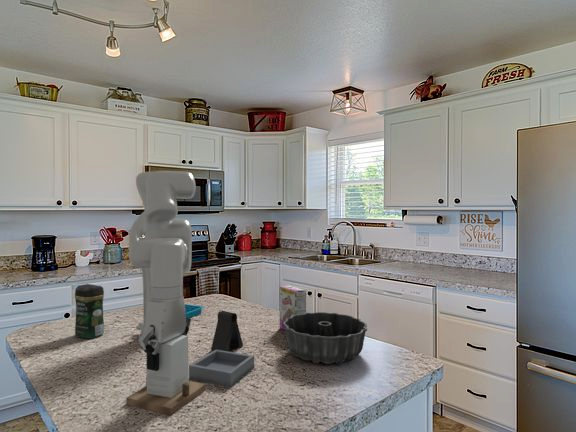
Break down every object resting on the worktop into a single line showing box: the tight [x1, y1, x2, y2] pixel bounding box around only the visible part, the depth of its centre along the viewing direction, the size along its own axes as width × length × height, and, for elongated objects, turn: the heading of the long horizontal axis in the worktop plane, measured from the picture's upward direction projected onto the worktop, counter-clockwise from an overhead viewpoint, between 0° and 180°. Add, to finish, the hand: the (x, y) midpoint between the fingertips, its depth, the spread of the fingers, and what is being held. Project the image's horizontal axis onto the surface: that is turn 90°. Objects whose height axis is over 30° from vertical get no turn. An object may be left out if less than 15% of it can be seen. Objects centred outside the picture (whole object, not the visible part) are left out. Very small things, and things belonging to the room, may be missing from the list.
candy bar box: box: [278, 285, 307, 331], centre depth 145 cm, size 11×5×16 cm, turn 35°
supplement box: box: [145, 335, 190, 398], centre depth 94 cm, size 7×7×13 cm
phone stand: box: [210, 310, 244, 352], centre depth 127 cm, size 9×6×12 cm, turn 145°
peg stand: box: [125, 375, 206, 416], centre depth 94 cm, size 13×13×4 cm
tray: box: [188, 350, 255, 388], centre depth 107 cm, size 13×13×4 cm
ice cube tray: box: [185, 303, 204, 319], centre depth 165 cm, size 12×20×3 cm, turn 156°
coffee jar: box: [74, 283, 105, 340], centre depth 140 cm, size 10×8×19 cm
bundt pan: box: [283, 311, 368, 365], centre depth 122 cm, size 26×26×10 cm
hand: (167, 361), depth 94 cm, fingers open, 9 cm apart
